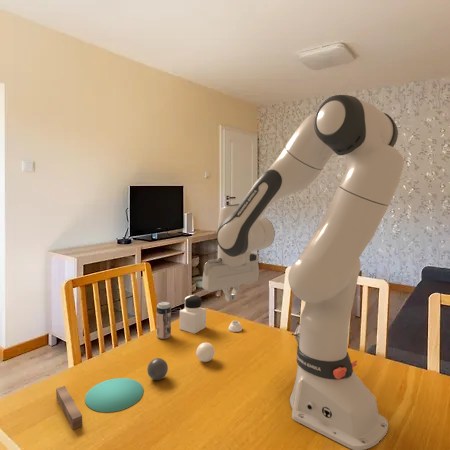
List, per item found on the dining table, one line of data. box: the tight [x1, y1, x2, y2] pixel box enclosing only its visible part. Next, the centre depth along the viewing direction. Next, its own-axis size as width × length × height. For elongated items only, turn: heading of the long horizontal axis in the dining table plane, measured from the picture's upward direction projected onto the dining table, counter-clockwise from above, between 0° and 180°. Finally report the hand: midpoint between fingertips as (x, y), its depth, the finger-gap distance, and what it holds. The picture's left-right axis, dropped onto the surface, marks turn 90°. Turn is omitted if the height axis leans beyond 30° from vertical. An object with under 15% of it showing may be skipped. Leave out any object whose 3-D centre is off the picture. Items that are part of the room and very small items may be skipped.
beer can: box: [156, 301, 172, 340], centre depth 121 cm, size 5×5×12 cm
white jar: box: [227, 320, 243, 333], centre depth 129 cm, size 5×3×5 cm
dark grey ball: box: [147, 357, 169, 381], centre depth 96 cm, size 6×6×6 cm
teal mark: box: [84, 377, 144, 413], centre depth 88 cm, size 14×14×1 cm
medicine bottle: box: [179, 294, 207, 335], centre depth 128 cm, size 7×7×12 cm
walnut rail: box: [55, 385, 83, 431], centre depth 81 cm, size 14×2×2 cm, turn 39°
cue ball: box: [195, 342, 216, 363], centre depth 105 cm, size 6×6×6 cm
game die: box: [291, 321, 300, 346], centre depth 116 cm, size 9×8×10 cm
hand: (230, 299), depth 110 cm, fingers closed
